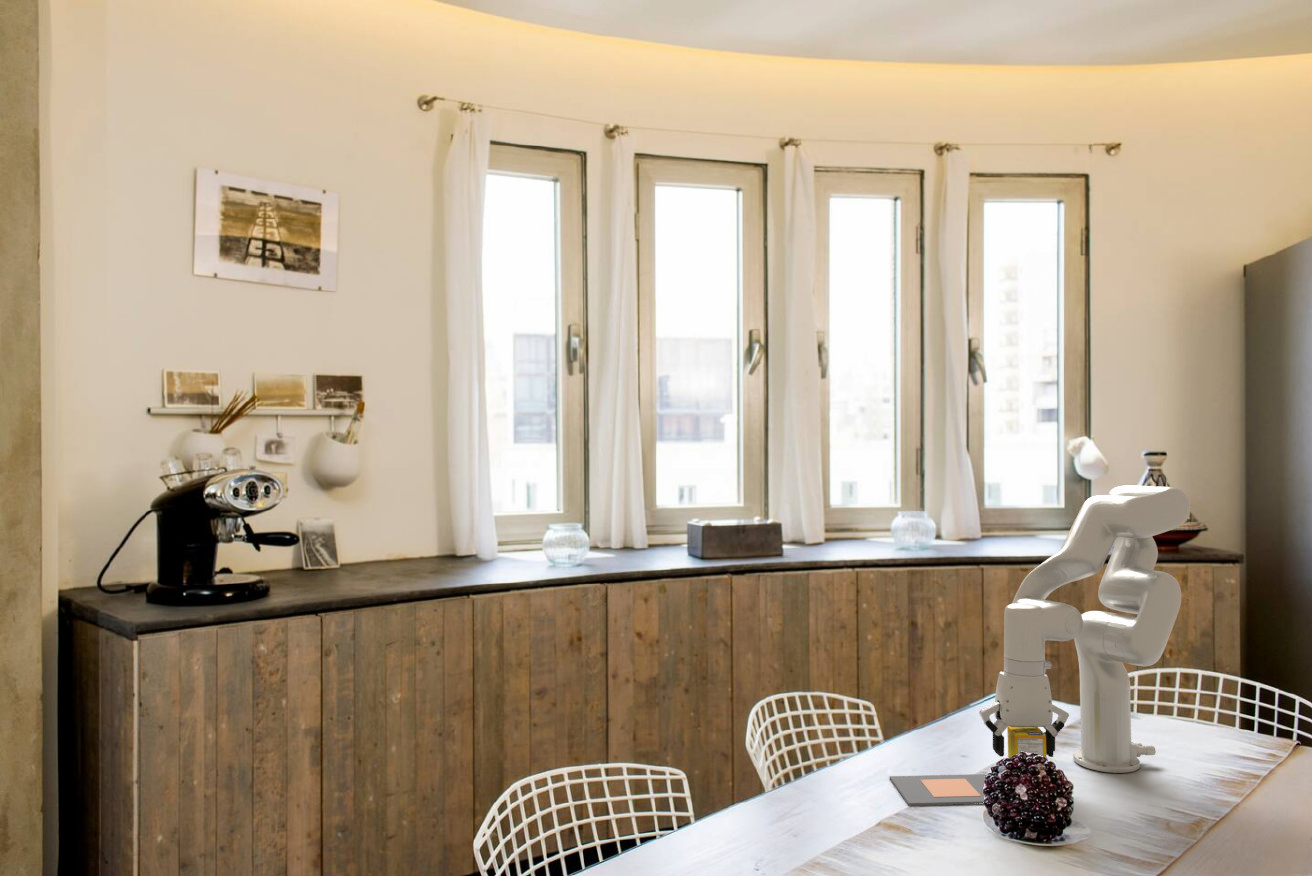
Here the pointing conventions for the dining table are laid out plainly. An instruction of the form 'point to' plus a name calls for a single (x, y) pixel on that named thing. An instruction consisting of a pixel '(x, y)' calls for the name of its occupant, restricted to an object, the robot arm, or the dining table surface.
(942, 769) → the dining table surface
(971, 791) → the mat
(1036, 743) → the supplement box
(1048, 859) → the dining table surface
